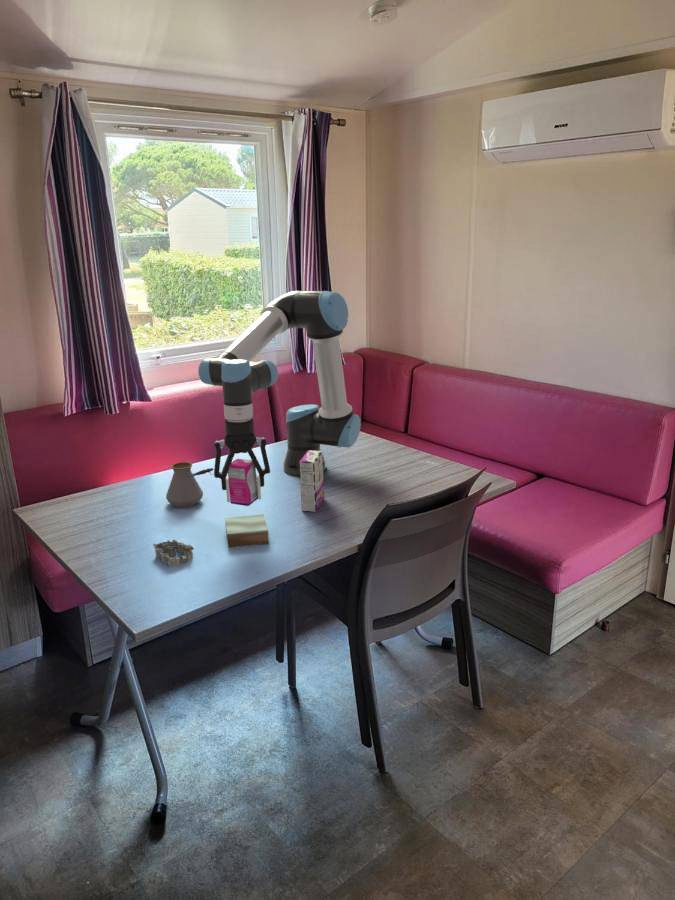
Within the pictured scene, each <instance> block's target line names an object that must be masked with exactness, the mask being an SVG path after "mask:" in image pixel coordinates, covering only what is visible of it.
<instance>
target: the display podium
mask: <svg viewBox="0 0 675 900" xmlns="http://www.w3.org/2000/svg"><path fill="white" fill-rule="evenodd" d="M224 521H225V532H226V534H227V535H226V534H225V535H226V541H227V548H228V547H230V548H238V547H237V546H239V547H247V545H248V546H256V545H257V546H258V545H265V544H266V545H267V544H269V529H268V525H267V522H266V519H265V515H264V514H253V515H245V516H243V515H241V516H232V517H225V518H224Z"/></svg>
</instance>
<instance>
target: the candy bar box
mask: <svg viewBox="0 0 675 900" xmlns="http://www.w3.org/2000/svg"><path fill="white" fill-rule="evenodd" d="M322 454H323V450H321V451H315V450H313V451H312V450H308V451H307V453H306V454H305V455H304V457H303V458H302V459H301V460H300V462H299V466H300V476H299V481H300V482H299V483H300V497H301V498H300V499H301V500H300V502H301V512H303V511H310V512H309V513H317V512H318V510H319V508H320V507H321V505H322V503H323V502H324V500H325V491H324V489H325V488H324V487H325V486H324V471H323V458H322Z"/></svg>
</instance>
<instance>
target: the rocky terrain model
mask: <svg viewBox="0 0 675 900" xmlns="http://www.w3.org/2000/svg"><path fill="white" fill-rule="evenodd" d="M152 546H153V548H154V550H155V551H154V552H155V558H156V559H161V562H162V563H168V567H169V568H172V567H176V568H179V567H181V564H182V563H188V562H189V563H192V562H193V561H192V560H193V558H194V552H193V550H194V549H195V548H194V547H193V546H192V545H190V544H185V543H183V542H179V541H177V539H173V540H172V541H171V540H170V539H169V540H167V541H163V542H159V543H152ZM175 549H177V553H178V554H180V553H183V554H184V555H180V556H179V557H176V555H177V553H176V550H175ZM191 561H192V562H191Z"/></svg>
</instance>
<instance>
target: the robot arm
mask: <svg viewBox="0 0 675 900" xmlns="http://www.w3.org/2000/svg"><path fill="white" fill-rule="evenodd" d="M348 318H349V309H348V304H347V302H346V300H345V298H344V296H342V295H341V294H340V293H338V292H336V291H329V290H292V291H289V292H287V293H285V294H282V295H280V296H278V297H276V298H275V299H273V300H272V301H270V302H269V303H268V304H267V305H266V306H265V307H264V308H263V309H262V310H261V312H260V316H259V317H258V318H257V319H256V320H255V321H254V322H253V323H252V324H251V325H249V326H248V327H247V328H246V329H245V330H244V331H243V332H241V334H240V335H239V336H238V337H237V338H235V340H234V341H232V342H231V343H230V344H229V345H228V346H227V347H225V349H224V350H223V351H221V353H220V354H218V355H217V356H216V357H215V358H213V357H208V358H203V359H202V360H201V361H200V363H199V365H198V377H199V379H200V381H201V382H202V383H203V384H205V385H210V386H214V387H216V386H217V387H222V395H223V413H224V419H225V420H224V428H225V429H224V430H225V436H224V439H221V440H217V439H216V440H215V441H214V446H215V461H214V468H213V470H214V471H213V476H214V478H215V479H218V478H219V479H220V481H221V490H222V491H225V494H226V501H227V503H230V491H229V479H228V470H229V465H231V462H233V461H234V460H233V458H235V455H237V454H241V453H243V454H247V453H248V455H249V457H250V460H252V461H253V463H254V465H255V467H256V472H257V473H256V480H257V494H258V499H257V500H262V494H261V493H262V491H261V488H262V487H263V488H264V487H265V475H267V474H270V473H271V468H270V463H269V459H268V454H267V451H266V445H267V440H266V438H265V436H262V437H258V436H257V437H256V435H255V428H254V427H255V425H254V419H253V417H254V408H253V393H255V392H258V391H261V390H264V389H268V388H269V387H270V386H273V385H274V384H275V383H276V382H277V381H278V378H279V371H278V367H277V366H276V364H275V363H274V362H273V361H271V360H268V359H260V360H257V361H252V360H253V359H254V358H256V356H257V355H259V353H260V352H262V350H263V349H265V347H266V346H268V344H269V343H270V342H271V341H272V340H273V339H275V337H277V335H282V334H283V333H285V332H286V331H287V330H289V329H294V328H295V329H296V328H298V329H305V332H306V337H307V338H308V339H309V340H311V342H312V348H313V354H314V362H315V369H316V374H317V375H316V376H317V381H318V387H319V388H318V389H319V395H320V402H321V407H319V405H318V404H301V405H298V406H294V407H290V408H289V409H288V410H287V411H286V417H285V418H286V419H285V423H286V439H287V441H286V442H287V450H286V454H285V457H284V461H283V472H285V474H288V475H291V476H299V477H300V466H299V462H300V460H301V459H302V458H303V457H304V455H305V454H306V453H307V451H308V450H312V451H313V450H315V451H322V449H321V445H323V446H331V447H336V448H337V447H338V448H346V449H347V448H348V449H349V448H351V447H353V446H354V445H355V444H356V442H357V441H358V438H359V436H360V431H361V425H362V421H361V417H360V416H359V415H357V414H355V413H354V411H353V406H352V405H351V404H349V403H348V400H347V399H348V398H347V392H346V383H345V376H344V375H345V374H344V368H343V359H342V352H341V344H340V337H341V336H342V334H343V333H344V329H345V328H346V327H347V325H348V321H349V319H348ZM255 443H257V445H258V446H259V448H260V452H261V456H262V462H263V466H264V468H262V466H261V464H260V462H259V460H258V459H257V456H256V454H255V452H254V450H253V447H254V445H255ZM224 445H226V447H227V448H228V449H229V450H228V453H227V456H226V459H225V461H224V465H223V467H222V469H221V471H220V468H221V457H222V456H221V455H222V449H223V448H224ZM322 458H323V472H324V471H325V470H326V460H325V457H324V455H323V453H322Z"/></svg>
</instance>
